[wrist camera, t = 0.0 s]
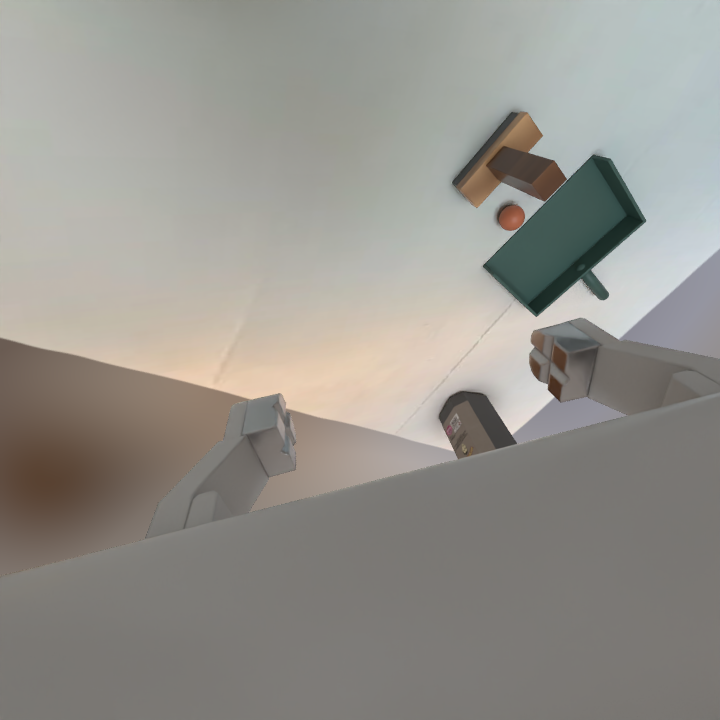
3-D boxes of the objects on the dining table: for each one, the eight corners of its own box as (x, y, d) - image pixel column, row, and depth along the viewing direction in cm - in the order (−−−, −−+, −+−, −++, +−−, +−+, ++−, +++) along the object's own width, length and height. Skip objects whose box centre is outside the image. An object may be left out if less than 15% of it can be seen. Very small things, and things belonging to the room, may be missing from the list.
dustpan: (482, 266, 54) (492, 275, 51) (593, 154, 46) (610, 158, 44) (551, 332, 64) (562, 341, 62) (650, 249, 57) (667, 256, 54)
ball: (495, 205, 48) (507, 212, 46) (518, 199, 48) (531, 206, 46) (494, 228, 50) (505, 236, 48) (515, 223, 50) (528, 230, 48)
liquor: (433, 421, 74) (503, 578, 51) (453, 388, 69) (540, 546, 46) (470, 425, 77) (553, 575, 53) (492, 394, 72) (593, 544, 48)
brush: (450, 184, 46) (498, 213, 35) (513, 110, 42) (586, 119, 32) (467, 201, 47) (517, 234, 37) (528, 132, 43) (603, 148, 33)
